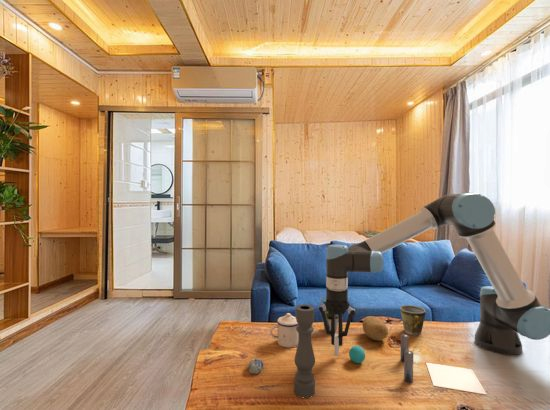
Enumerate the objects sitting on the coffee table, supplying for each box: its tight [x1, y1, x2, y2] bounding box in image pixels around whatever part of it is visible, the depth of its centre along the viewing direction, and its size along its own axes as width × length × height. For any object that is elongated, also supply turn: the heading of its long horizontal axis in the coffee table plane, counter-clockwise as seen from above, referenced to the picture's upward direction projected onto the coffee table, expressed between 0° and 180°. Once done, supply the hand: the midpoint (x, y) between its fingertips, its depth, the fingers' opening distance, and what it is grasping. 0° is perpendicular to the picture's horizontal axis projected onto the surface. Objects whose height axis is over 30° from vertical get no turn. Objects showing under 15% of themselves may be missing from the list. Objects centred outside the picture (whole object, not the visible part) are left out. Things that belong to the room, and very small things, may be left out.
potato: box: [362, 315, 389, 342], centre depth 126 cm, size 10×14×8 cm
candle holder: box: [293, 303, 316, 399], centre depth 90 cm, size 6×6×25 cm
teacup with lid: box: [269, 312, 299, 349], centre depth 121 cm, size 12×9×12 cm
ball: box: [348, 345, 366, 364], centre depth 107 cm, size 6×6×6 cm
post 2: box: [403, 350, 414, 384], centre depth 96 cm, size 3×3×9 cm
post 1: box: [400, 333, 410, 363], centre depth 108 cm, size 3×3×9 cm
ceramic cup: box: [400, 304, 426, 336], centre depth 131 cm, size 13×10×10 cm
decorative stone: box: [248, 358, 264, 375], centre depth 102 cm, size 6×4×5 cm
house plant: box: [316, 296, 338, 334], centre depth 132 cm, size 14×14×16 cm
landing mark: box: [425, 362, 488, 396], centre depth 98 cm, size 14×14×1 cm
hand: (336, 353), depth 109 cm, fingers closed
